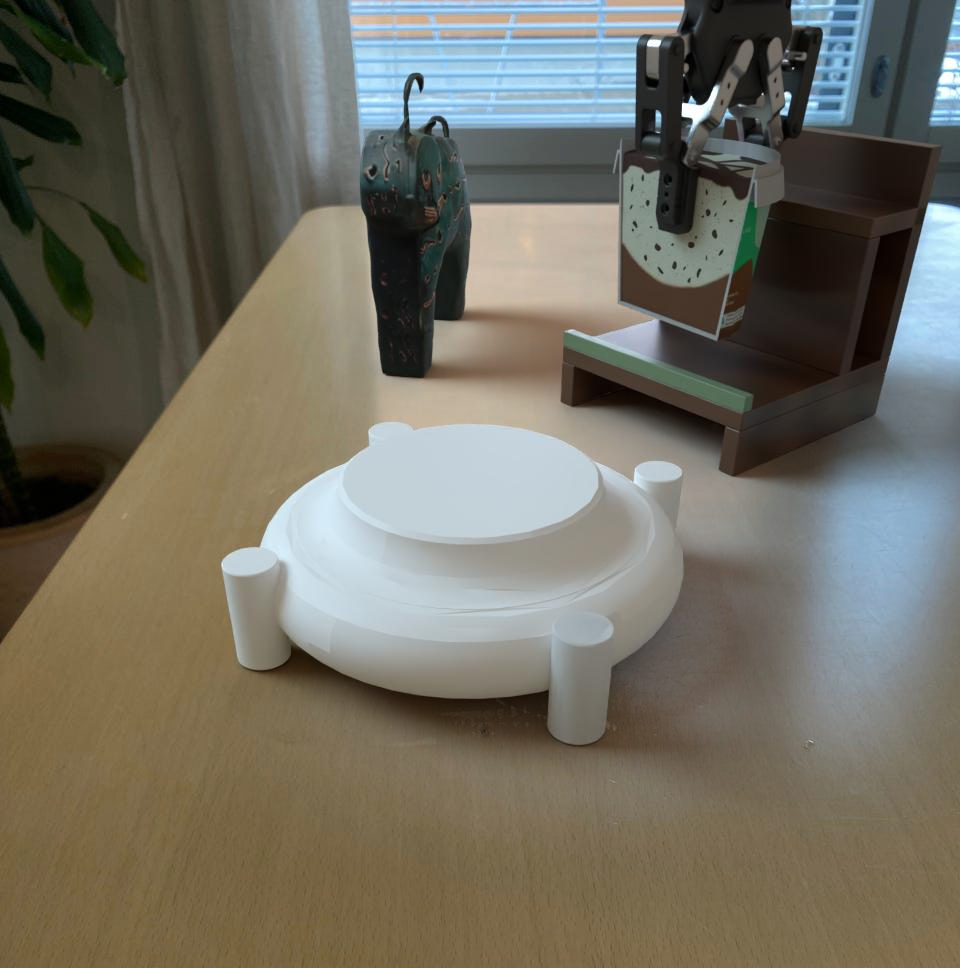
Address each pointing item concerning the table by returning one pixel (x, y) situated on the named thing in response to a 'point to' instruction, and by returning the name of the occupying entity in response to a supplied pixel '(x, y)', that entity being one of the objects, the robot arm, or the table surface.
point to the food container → (696, 236)
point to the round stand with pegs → (466, 569)
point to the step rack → (789, 305)
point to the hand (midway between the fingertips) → (710, 222)
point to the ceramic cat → (414, 236)
